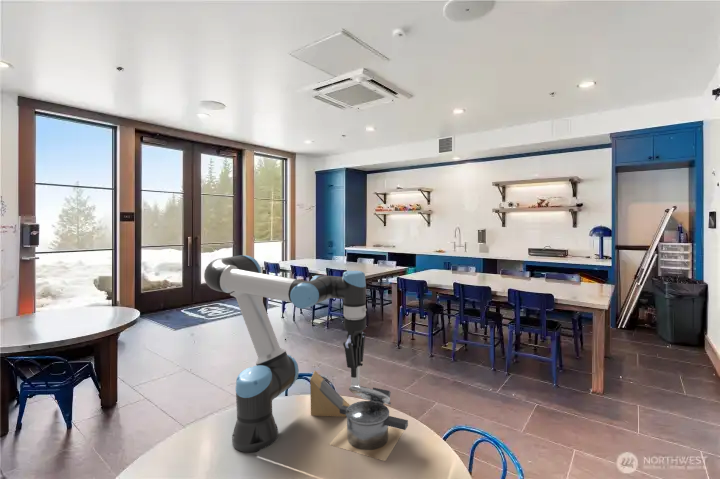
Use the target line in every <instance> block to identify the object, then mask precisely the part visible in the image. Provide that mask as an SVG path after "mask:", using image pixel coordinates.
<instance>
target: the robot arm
mask: <svg viewBox="0 0 720 479" xmlns="http://www.w3.org/2000/svg"><path fill="white" fill-rule="evenodd" d="M203 278H204V281H205V283H206V285H207V286H208V287H209V288H210V289H211V290H214V291H217V292H222V293H227V294H229V295H230V296H231V297H234V298H235V299H236V301H237V305H238V307H239V310H240V312H241V315H242V318H243V321H244V324H245V325H246V329H247V331H248V334H249V336H250V339H251V342H252V345H253V348H254V350H255V352H256V355H257V360H256V362H255V365H253V366H249V367H247V368H245V369H244V370H242V371H241V372H240V373H239V374H238V375H237V377H236V382H235V384H236V385H235V399H236V401H235V402H236V403H235V404H236V421H235V425H234V427H233V428H234V429H233V431H232V434H231V439H232V440H231V445H232V447H233V448H234V449H235V450H237V451H239V452H243V453H255V452H260V451H261V450H262V449H265V448H268V447H269V446H271V445H272V444H273V443H275V442H276V441H277V439H278V437H279V436H278V435H279V429H278V428H279V427H278V425H277V423H276V420H275V418H274V415H273V400H275V399H276V398H277V397H279V396H280V395H281V394H283V393H284V392H285V391H288V389H290V388H291V387H292V386H293V385H294V384H295V383H296V381H297V380H298V377H299V365H298V363H297V361H296V359H295V358H294V357H292V355H290V354H288V353H287V351H286V349H284V348H282V347H281V346H280V344H279V342H278V339H277V336H276V333H275V331H274V328H273V326H272V322H271V321H270V318H269V315H268V313H267V312H268V311H267V310H266V307H265V305H264V302H263V299H262V298H267V299H273V300H276V301H277V300H278V301H282V302H287V303H292V304H293V306H295V307H296V308H297V309H303V310H304V309H309V308H311V307H313V306H315V305H317V304H319V303H321V302H324V301H326V300H327V299H336V300H337V299H339V300H343V301H342V302H343V317H344V318H343V328H344V330H346V331H347V335H346V341H344V342H343V343H342V346H343V348H344V353H345V361H346V367H347V368H349V369H350V386H353V385H355V386H361V367H362V366H363V363H362V362H363V361H364V352H365V342H366V337H367V333H366V332H364V330H366V328H367V318H366V315H367V310H368V309H367V308H366V305H367V303H366V296H367V295H366V290H367V283H366V274H365V273H364V271H362V270H361V271H360V270H345V271H344V272H343V273H342V276H336V275H335V276H334V275H325V274H322V275H314V276H312V278H311V279H310V281H309V280H304V279H303V280H302V279H297V278H290V277H284V276H279V275H272V274H269V273H268V274H266V273H262V270H261V265H260V264H259V262H258V261H257V259H256V258H254V257H252V256H251V255H245V254H243V255H239V254H238V255H235V256H229V257H221V258H219V257H218V258H217V259H214V260H212V261H211V262H210V263H208V265H207V266H206V267H205V269H204V274H203Z"/></svg>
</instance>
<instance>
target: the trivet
mask: <svg viewBox="0 0 720 479" xmlns="http://www.w3.org/2000/svg"><path fill="white" fill-rule="evenodd" d="M404 432H405V430H403V429H399V428H395V427H391V426H388V441H387V443H386V444H385V445H384V446H382V447H381V448H378V449H374V450H361V449H358V448H355V447H353V446H352V445H350V443H349V442H348V440H347V424H346V425H345V426H344V427H343V429H341V430H340V431H339V432H338V433H337V435H336V436H335V437H334V438H333V439H332V440H331V441H330V442H329V444H328V445H329V446H333V447H336V448H340V449H343V450H346V451H349V452H353V453H355V454H356V453H357V454H359V455H364V456H367V457H369V458H373V459H377V460H379V461H380V460H381V461H383V462H386V461H387V460H388V457H389V456H390V455H391V453H392V452H393V449H394V448H395V446H396V444H398V441H399V440H400V439H401V437H402V435H403V434H404Z"/></svg>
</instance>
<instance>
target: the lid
mask: <svg viewBox="0 0 720 479" xmlns="http://www.w3.org/2000/svg"><path fill="white" fill-rule="evenodd" d="M348 390H349V391H350V392H351V393H352V394H354V395H355V396H359V397H360V398H361V399H364V400H366V401H370V400H372V401H376V402H380V403H383V404H384V405H385V404H386V405H388V406H389V405H392V402H390V400H391V391H390V390H387V389H382V388H377V387H372V388H370V387H366V386H362V385H360V386H355V385H353V386H352V385H350V386H349V388H348Z"/></svg>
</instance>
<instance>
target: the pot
mask: <svg viewBox="0 0 720 479" xmlns="http://www.w3.org/2000/svg"><path fill="white" fill-rule="evenodd" d="M349 405H350V406H349V407H348V406H344V405H343V406H342V407H341V408H340V413H341V414H345V415H346V425H347V440H348V442H349V443H350V445H352V446H353V447H355V448H358V449H361V450H374V449H378V448H381V447H382V446H384V445H385V444H386V443H387V441H388V427H392V428H396V429H400V430H404V431H406V430H407V428H408V426H409V420H408V419H405V418H404V419H403V418H400V417H395V416H391V415H390V409H389V408H388V407H387V406H386V405H385V404H384V403H380V402H376V401H372V400H361V401H358V402H357V401H356V402H354V403H352V404H349Z"/></svg>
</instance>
